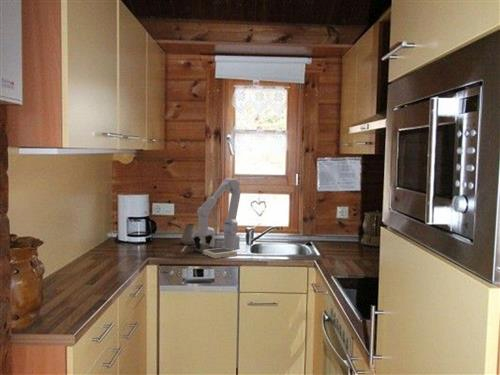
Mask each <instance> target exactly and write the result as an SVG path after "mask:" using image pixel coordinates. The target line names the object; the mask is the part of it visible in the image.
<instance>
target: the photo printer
mask: <svg viewBox="0 0 500 375" xmlns="http://www.w3.org/2000/svg"><path fill="white" fill-rule="evenodd" d="M208 233H214V234H215V228H213V227H210V226H208ZM211 237H212V240H211V242H210V244H209V248H214V247H215V235H214V236H211ZM199 238H200V242H205V243H206V240H205V237H199Z"/></svg>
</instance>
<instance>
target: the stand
mask: <svg viewBox="0 0 500 375" xmlns="http://www.w3.org/2000/svg"><path fill="white" fill-rule="evenodd" d="M202 254H203V255H204V254H205V256H207V255H208V256H207V257H209V256H210V257H209V258H213V259H221V257H223V258H230V257H229V256H231V257H237V256H238V251H236V250H235V249H227V248H221V247H219V248H212V249H211V248H209V249H208V250H203V253H202Z"/></svg>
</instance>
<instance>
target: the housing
mask: <svg viewBox="0 0 500 375" xmlns="http://www.w3.org/2000/svg"><path fill="white" fill-rule="evenodd" d="M208 249H210V247H209V244H208V243H205V242H200V247H199V249H197V248H196V247H195V251H197V252H200V253H202V254H203V250H208Z"/></svg>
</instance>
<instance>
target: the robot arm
mask: <svg viewBox="0 0 500 375" xmlns="http://www.w3.org/2000/svg"><path fill="white" fill-rule="evenodd" d="M240 185H241V184H240V182H239V180H238V179H236V178H229V177H225V179H224V178H223V180H222V182H220V185H219V186H218V188H217V190H216V191H215V192H214V193H213V194H212V196H209V197H207V198H206V201H204V203H202V204H201V206H199V207H198V208H197V210H196V213H197V216H198V227H197V228H198V229H197V232H196V234H192V238H193V239H194V241H195V244H194V245H195V249H196V248H197V249H199V247H200V238H199V237H205V240H206V243H208V244H210V242H211V240H212V237H211V236H214V237H215V232H214V233H208V227H209V215H211V211H212V209H213V208H214V207H215V205H216V204H217V202H218V199H219V198H220V197H221V195H223V193H224V192H226V191H229V193H231V196H230V202H229V207H228V212H227V218H226V219H225V220H224V223H223V224H222V227H221V229H222V231H223V246H221V247H220V248H227V249H230V250H235V249H237V250H238V249H240V248H241V247H240V236H239V234H238V231H239V228H238V221H237V216H238V209H239V203H240V198H241V188H240Z"/></svg>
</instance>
